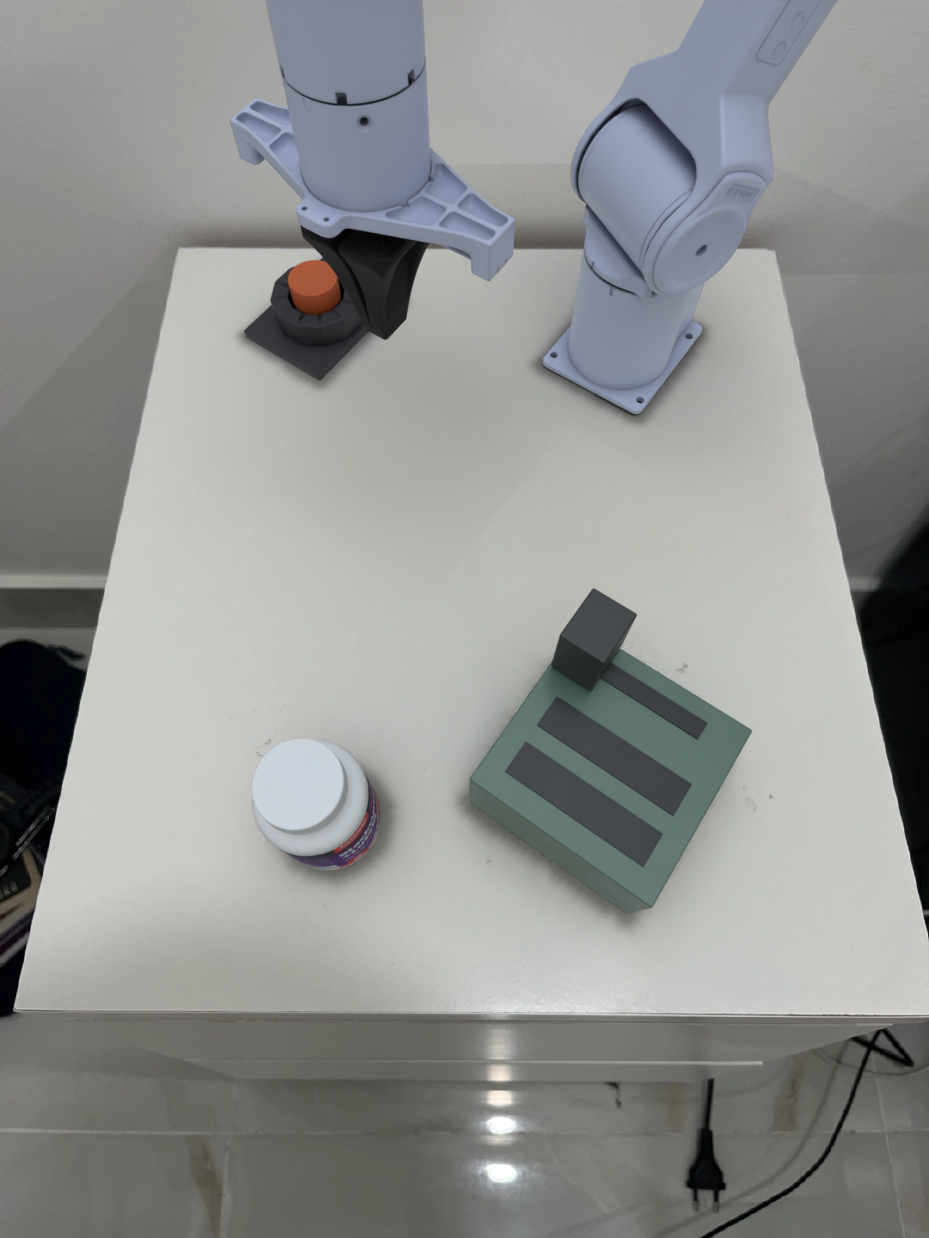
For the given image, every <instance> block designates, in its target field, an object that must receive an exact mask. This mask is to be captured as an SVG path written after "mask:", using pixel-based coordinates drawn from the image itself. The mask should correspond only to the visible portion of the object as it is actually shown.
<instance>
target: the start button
mask: <svg viewBox="0 0 929 1238" xmlns="http://www.w3.org/2000/svg"><path fill="white" fill-rule="evenodd" d="M293 267H294V266H293ZM288 284H289V288H290V291H291V295H292V299H293V302H294V305H295V306H296V308H297V309H298V310H300V311H301V312H303V313H306V314H314V315H321V314H323V313H326V312H329V311H331V310H333V309H334V308H335V307H336V306H337V305H338V303H339V301H340V298H341V293H340V288H339V282H338V277H337V275H336V274H335V272H334V271H333V270H332V268H331V267H330V266H329V264H328V263H326V262H324V261H320V259H311V260H305V261H302V262H300V263H297V264H296V265H295V267H294V268H293V269H292V270H291V272H290V273H289V276H288Z"/></svg>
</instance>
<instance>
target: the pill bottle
mask: <svg viewBox="0 0 929 1238" xmlns="http://www.w3.org/2000/svg"><path fill="white" fill-rule="evenodd" d="M251 810H252V815H253V819H254V822H255V825H256V826H257V828H258V829H259V832H260V833H261V834H262V836H263V837H264V838H265V839H266V841H268V842H269V843H270V844H271V845H272V846H273V847H275V848H276V849H278V850H280V851H281V852H283V853H285V854H286V855H288V856H290V858H291V857H292V858H293V859H295V860H296V861H298V862H300V863H302V864H304V865H305V866H307V867H310V868H312V869H316V870H320V871H335V870H342V869H344V868H347V867H349V866H352V865H353V864H355V863H357V862H359V861H360V860H361V859H362V858H363V857H365V855H366V854H368V852H369V851H370V850H371V849H372V847H373V846H374V844H375V842H376V840H377V839H378V836H379V833H380V829H381V826H382V825H381V824H382V809H381V804H380V800H379V797H378V794H377V792H376V791H375V789H374V787H373V786H372V784H371V782H370V780H369V778H368V775H366V772H365V770H364V767H362V765H361V764H360V762H359V760H357V758H356V757H355V755H353V753H352V752H350V751H349V750H348V749H346V748H345V747H344V746H342V745H341V744H338V743H337V742H334V741H332V740H328V739H323V738H305V737H299V738H298V737H297V738H292V739H287V740H285V741H282V742H280V743H278V744H277V745H275V746H273V747H272V748H270V750H267V752H266V753H265V754H264V755H263V756H262V758H260V760H259V762H258V763H257V765H256V767H255V769H254V773H253V774H252V779H251Z"/></svg>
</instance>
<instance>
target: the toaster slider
mask: <svg viewBox="0 0 929 1238" xmlns="http://www.w3.org/2000/svg"><path fill="white" fill-rule="evenodd" d="M637 617H638V613H636V612H635V611H633V610H631V609H630V608H628V607H626V606H625V605H623V604H621V603H620V602H618V601H617V600H615V599H613V598H612V597H609V596H608V595H606V594H605V593H603V592H602V591H600V590H598V589H597V588H592V589H590V591H589V593H588V594H587V595H586V597H585V598H584V600H583V602H581V604H580V605H579V607H578V608H577V610H576V611H575V613H574V614H573V615H572V617H571V618H570V619H569V621H568V622H567V624H566V625H565V627H564V628H563V629H562V631H561V632H560V633H559V635H558V638H557V639H558V640H557V643H556V646H555V649H554V653H553V656H552V661H551V662H552V664H551V663H550V664H551V666H553V667H554V668H556V669H557V670H559V671H560V672H562V673H564V674H565V675H567V676H568V677H570V678H571V679H573V680H574V681H576V682H578V683H579V684H581V685H582V686H584V687H585V688H587V689H589V690H590V691H592V690H593V688H594V687H595V685H596V684H597V682H598V681H599V679H600V678H601V676H602V675H603V673H604V672H605V670H606V669H607V667H608V666H609V664H610V663H611V661H612V660H613V658H614V657H615V655H616V654H617V652H618V651H619V649H622V646H623V644H624V642H625V641H626V638H627V636H628V634H629V632H630V630H631V629H632V626H633V625H634V623H635V621H636V618H637Z"/></svg>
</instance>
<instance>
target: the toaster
mask: <svg viewBox="0 0 929 1238" xmlns="http://www.w3.org/2000/svg"><path fill="white" fill-rule="evenodd" d="M551 664H552V661H551V662H550V663H549V665H548V666H547V668H546V669H545V671H544V672H543V673H542V675H541V676H540V678H539V680H537V682H536V684H535V685H534V686H533V687H532V689H531V691H530V692H529V693H528V695H527V696H526V698H525V699H524V700H523V702H522V703H521V705H520V706H519V708H518V709H517V711H516V712H515V713H514V715H513V716H512V718H511V719H510V721H508V723H507V724H506V727H504V729H503V731H502V732H501V733H500V735H499V736H498V738H497V739H496V741H495V742H494V743H493V745H492V746H491V748H490V749H489V750H488V752H487V753H486V755H485V756H484V758H483V759H482V760H481V762H480V763H479V765H478V766H477V768H476V769H475V770H474V772H473V773H472V775H471V776H470V778H469V804H471V805H472V806H474V807H475V808H477V809H478V810H479V811H481V812H482V813H484V814H485V815H486V816H487V817H489V818H490V819H492V820H494V821H495V822H496V823H497V824H499V825H500V826H502V827H503V828H505V830H507V831H509V832H510V833H511V834H513V835H514V836H516V837H517V838H518V839H520V840H521V841H523V842H524V843H526V844H527V845H528V846H530V847H531V848H533V849H534V850H536V851H537V852H538V853H540V854H541V855H543V856H544V857H545V858H546V859H548V860H550V861H551V862H552V863H554V864H555V865H556V866H558V867H559V868H560V869H562V870H564V871H565V872H566V873H568V874H569V875H571V876H572V877H573V878H574V879H576V880H577V881H578V882H580V883H582V884H583V885H584V886H586V887H587V888H588V889H590V890H592V891H593V892H594V893H596V894H597V895H599V896H600V897H601V898H602V899H604V900H606V901H607V902H608V903H610V904H611V905H612V906H614V907H615V908H617V909H618V910H620V912H622V913H624V914H625V915H628V914H632V913H636V912H640V911H644V910H648V909H652V908H653V907H654V905H655V903H656V902H657V901H658V899H659V897H660V895H661V893H662V892H663V889H664V888H665V886H666V884H667V883H668V881H669V879H670V877H671V876H672V874H673V872H674V870H675V869H676V867H677V865H678V863H679V862H680V859H681V858H682V856H683V854H684V852H685V851H686V849H687V847H688V845H689V844H690V842H691V841H692V838H693V837H694V835H695V834H696V831H697V830H698V828H699V827H700V825H701V823H702V821H703V819H704V818H705V816H706V814H707V812H708V810H709V809H710V807H711V805H712V803H713V802H714V800H715V799H716V796H717V794H718V793H719V792H720V789H721V787H722V786H723V784H724V782H725V780H726V779H727V776H728V775H729V774H730V772H731V770H732V768H733V766H734V765H735V762H736V761H737V759H738V758H739V756H740V754H741V752H742V751H743V749H744V747H745V745H746V743H747V742H748V740H749V738H750V736H751V734H753V730H752V728H750V727H748V726H746V725H745V724H743V723H742V722H740V721H739V720H737V719H735V718H734V717H733V716H730V715H729V714H727V713H726V712H724V711H722V710H721V709H719V708H718V707H716V706H714V705H712V704H711V703H710V702H708V701H706V700H705V699H704V698H703V699H702V698H701V697H700V696H698V695H696V694H695V693H693V692H692V691H690V690H688V689H686V688H685V687H683V686H682V685H680V684H679V683H677V682H675V681H674V680H672V679H671V678H669V677H667V676H665V675H664V674H662V673H661V672H660V671H658V670H656V669H654V668H653V667H651V666H650V665H648V664H647V663H645V662H643V661H642V660H640V659H638V658H637V657H635V656H633V655H632V654H630V653H628V652H627V651H626V650H624V649H622V648H620V649H619V651H618V652H617V654H616V655H615V657H614V658H613V660H612V661H611V663H610V664H609V666H608V667H607V669H606V670H605V672H604V673H603V675H602V676H601V678H600V679H599V681H598V682H597V684H596V685H595V687H594V688H593V690H592V691H590V690H589V689H587V688H585V687H584V686H582V685H581V684H579V683H578V682H576V681H574V680H573V679H571V678H570V677H568V676H567V675H565V674H564V673H562V672H560V671H559V670H557V669H556V668H554V667H553V666H551Z"/></svg>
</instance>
